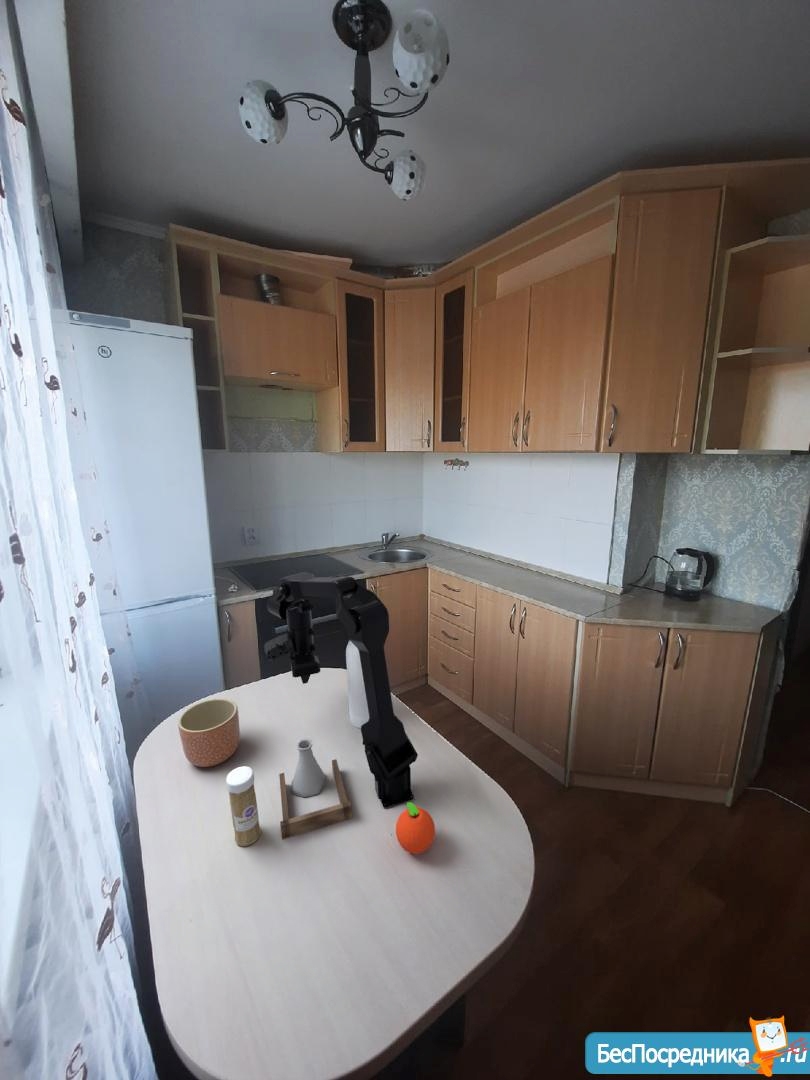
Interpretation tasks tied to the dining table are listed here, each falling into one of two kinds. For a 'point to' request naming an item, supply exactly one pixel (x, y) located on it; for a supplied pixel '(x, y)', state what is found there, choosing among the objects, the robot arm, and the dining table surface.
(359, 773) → the dining table surface
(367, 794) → the dining table surface
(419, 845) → the clementine
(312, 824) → the bay
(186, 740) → the planter
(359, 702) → the bottle
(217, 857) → the dining table surface
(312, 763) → the flask
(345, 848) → the dining table surface
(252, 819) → the sprinkles bottle
